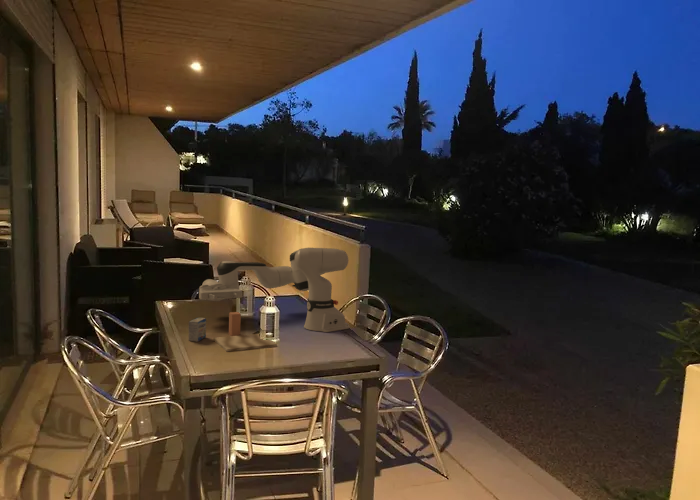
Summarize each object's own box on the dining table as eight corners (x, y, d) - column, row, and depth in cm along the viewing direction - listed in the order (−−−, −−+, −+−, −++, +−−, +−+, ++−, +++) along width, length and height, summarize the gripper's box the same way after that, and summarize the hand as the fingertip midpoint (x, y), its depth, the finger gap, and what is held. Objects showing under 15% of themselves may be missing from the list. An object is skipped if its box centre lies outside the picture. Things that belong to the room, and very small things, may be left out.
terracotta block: (237, 333, 258) (237, 311, 257) (240, 335, 254) (240, 313, 253) (228, 334, 256) (229, 312, 255) (231, 336, 252) (232, 314, 251)
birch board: (261, 335, 256) (261, 333, 256) (276, 346, 241) (276, 343, 241) (213, 340, 245) (213, 337, 245) (226, 351, 230) (226, 349, 230)
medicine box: (197, 342, 241) (198, 322, 240) (188, 340, 242) (188, 321, 241) (206, 337, 249) (206, 318, 248) (196, 336, 250) (197, 317, 249)
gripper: (237, 297, 281) (246, 302, 269) (196, 299, 271) (203, 305, 259) (237, 284, 280) (247, 289, 269) (196, 286, 270) (204, 291, 258)
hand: (225, 297), depth 264 cm, fingers open, 8 cm apart
